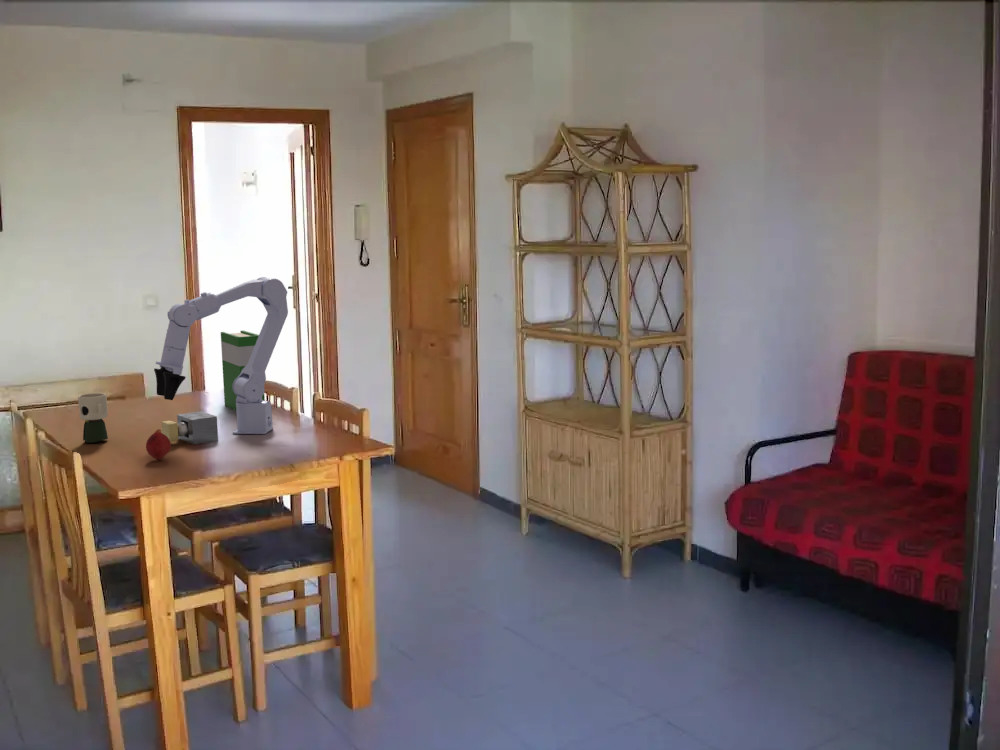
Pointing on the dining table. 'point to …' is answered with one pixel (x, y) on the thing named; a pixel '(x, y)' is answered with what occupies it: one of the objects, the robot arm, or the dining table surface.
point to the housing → (199, 427)
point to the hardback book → (235, 360)
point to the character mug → (93, 416)
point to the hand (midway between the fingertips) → (164, 397)
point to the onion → (158, 445)
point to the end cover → (174, 430)
